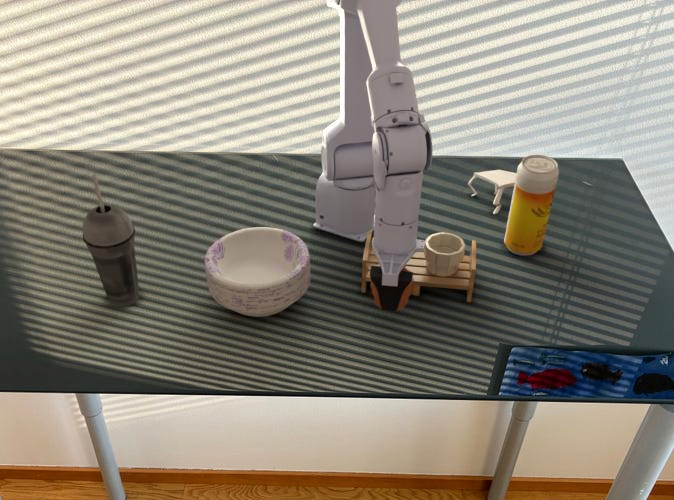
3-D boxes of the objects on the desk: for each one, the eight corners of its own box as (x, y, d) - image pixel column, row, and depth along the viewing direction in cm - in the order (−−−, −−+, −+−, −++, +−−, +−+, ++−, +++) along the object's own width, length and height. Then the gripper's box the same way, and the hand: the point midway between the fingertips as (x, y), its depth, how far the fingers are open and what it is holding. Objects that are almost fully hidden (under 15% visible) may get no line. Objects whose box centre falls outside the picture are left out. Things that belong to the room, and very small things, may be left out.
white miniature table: (474, 217, 130) (478, 192, 127) (465, 191, 136) (469, 166, 133) (544, 215, 131) (549, 190, 127) (532, 190, 137) (537, 165, 133)
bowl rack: (366, 263, 121) (368, 231, 117) (471, 271, 119) (476, 239, 115) (361, 292, 116) (362, 260, 111) (470, 302, 114) (476, 269, 110)
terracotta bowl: (363, 307, 109) (364, 282, 105) (381, 285, 112) (383, 260, 109) (399, 320, 106) (402, 294, 103) (417, 296, 110) (420, 271, 107)
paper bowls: (197, 281, 118) (190, 238, 112) (288, 258, 122) (286, 215, 117) (228, 342, 108) (222, 298, 102) (326, 314, 112) (326, 270, 106)
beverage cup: (107, 318, 112) (76, 199, 98) (93, 291, 116) (62, 173, 103) (154, 303, 114) (131, 185, 100) (139, 277, 119) (115, 161, 105)
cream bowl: (416, 273, 114) (418, 248, 111) (432, 252, 118) (435, 228, 115) (452, 284, 112) (455, 259, 109) (467, 263, 116) (470, 238, 113)
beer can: (540, 259, 121) (560, 176, 111) (502, 254, 122) (518, 171, 112) (541, 237, 126) (560, 155, 115) (504, 233, 127) (519, 151, 116)
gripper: (424, 248, 94) (416, 331, 103) (430, 187, 104) (421, 267, 113) (367, 243, 94) (364, 326, 104) (378, 183, 105) (374, 263, 114)
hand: (390, 295), depth 109 cm, fingers closed on terracotta bowl, 5 cm apart
